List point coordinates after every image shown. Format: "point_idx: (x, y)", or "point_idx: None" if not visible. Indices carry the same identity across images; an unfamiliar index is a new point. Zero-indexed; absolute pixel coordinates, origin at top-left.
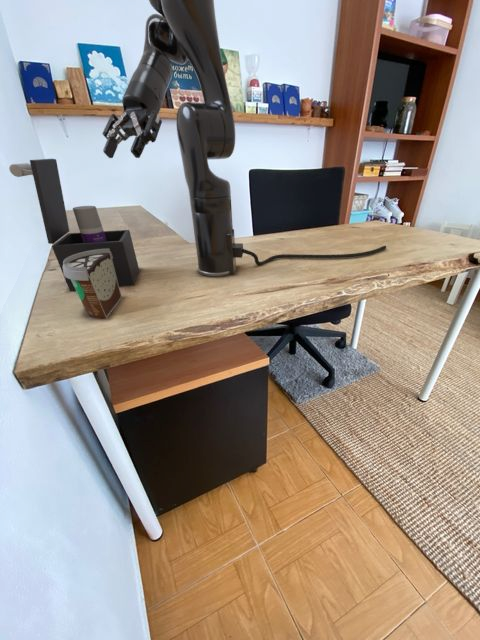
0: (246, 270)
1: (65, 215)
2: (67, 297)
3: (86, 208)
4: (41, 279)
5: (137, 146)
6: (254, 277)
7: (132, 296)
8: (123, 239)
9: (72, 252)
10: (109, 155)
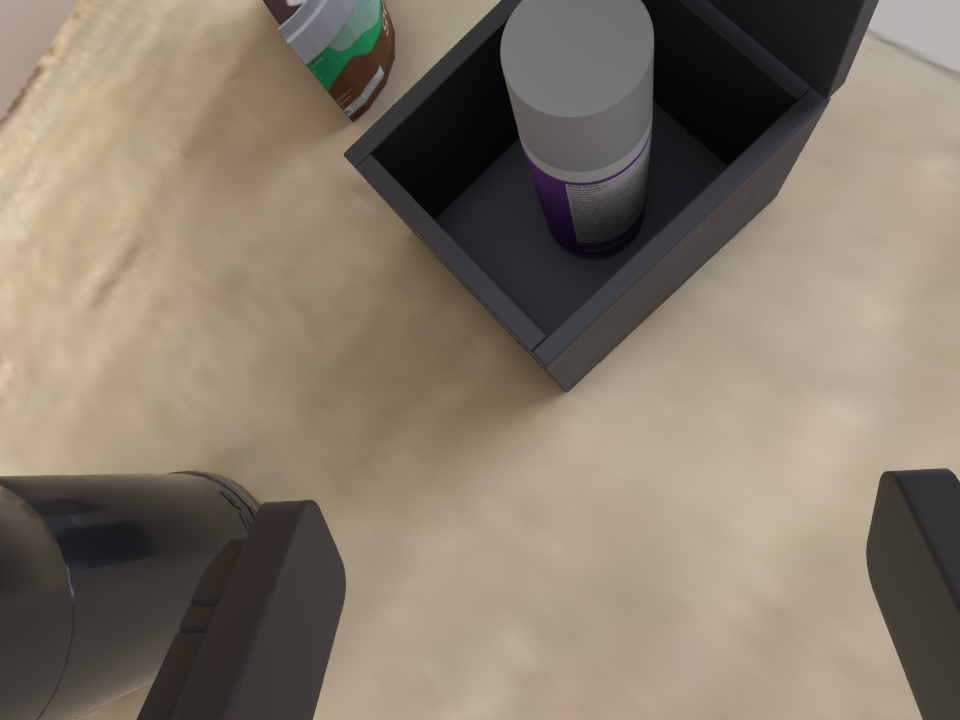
0: None
1: (822, 42)
2: None
3: (512, 26)
4: (888, 40)
5: (211, 594)
6: None
7: (329, 153)
8: (374, 185)
9: None
10: (875, 532)
